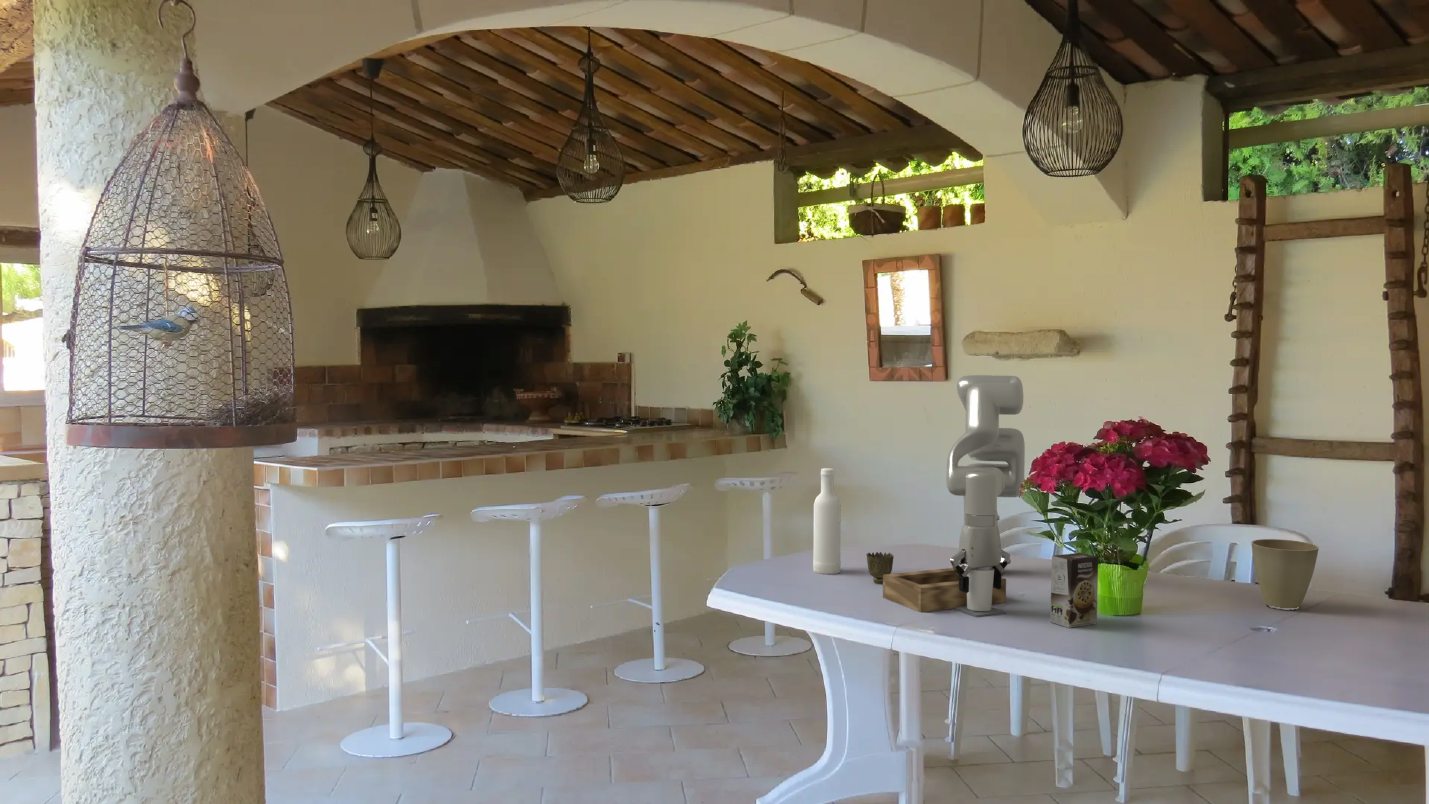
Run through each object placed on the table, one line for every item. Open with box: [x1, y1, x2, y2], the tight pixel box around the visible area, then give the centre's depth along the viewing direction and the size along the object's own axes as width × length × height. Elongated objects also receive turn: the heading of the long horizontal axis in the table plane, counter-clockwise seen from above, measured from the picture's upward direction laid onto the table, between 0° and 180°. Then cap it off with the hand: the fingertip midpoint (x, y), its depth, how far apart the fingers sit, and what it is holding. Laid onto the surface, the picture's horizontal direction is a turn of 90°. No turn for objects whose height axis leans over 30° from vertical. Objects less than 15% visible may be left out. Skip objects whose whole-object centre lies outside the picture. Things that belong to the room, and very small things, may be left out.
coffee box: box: [1049, 552, 1099, 629], centre depth 256 cm, size 9×6×16 cm
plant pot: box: [1251, 538, 1320, 608], centre depth 271 cm, size 15×15×16 cm
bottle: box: [812, 467, 842, 575], centre depth 314 cm, size 8×8×30 cm
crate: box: [882, 567, 1007, 613], centre depth 280 cm, size 26×17×6 cm, turn 114°
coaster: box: [953, 606, 1007, 618], centre depth 268 cm, size 9×9×1 cm
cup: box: [866, 551, 895, 585], centre depth 300 cm, size 8×7×8 cm
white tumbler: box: [967, 567, 994, 611], centre depth 268 cm, size 7×7×10 cm
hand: (980, 589), depth 267 cm, fingers open, 9 cm apart
